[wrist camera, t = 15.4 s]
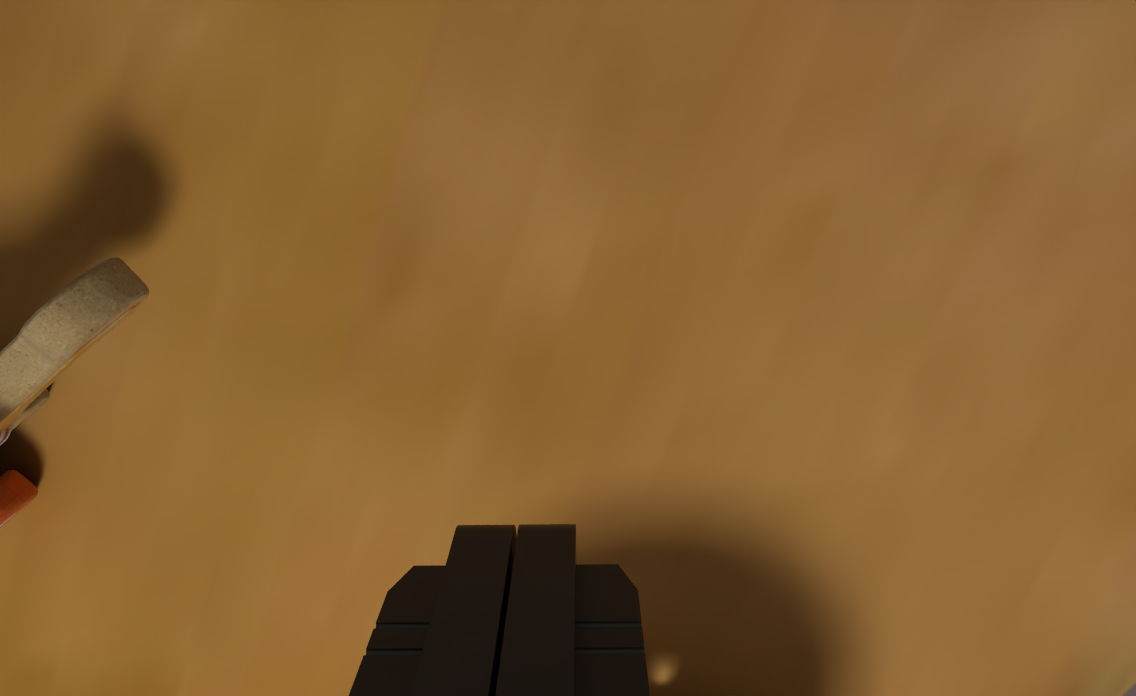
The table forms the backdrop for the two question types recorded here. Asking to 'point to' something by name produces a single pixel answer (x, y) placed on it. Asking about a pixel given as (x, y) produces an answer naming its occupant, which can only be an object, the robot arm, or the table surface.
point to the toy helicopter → (58, 353)
